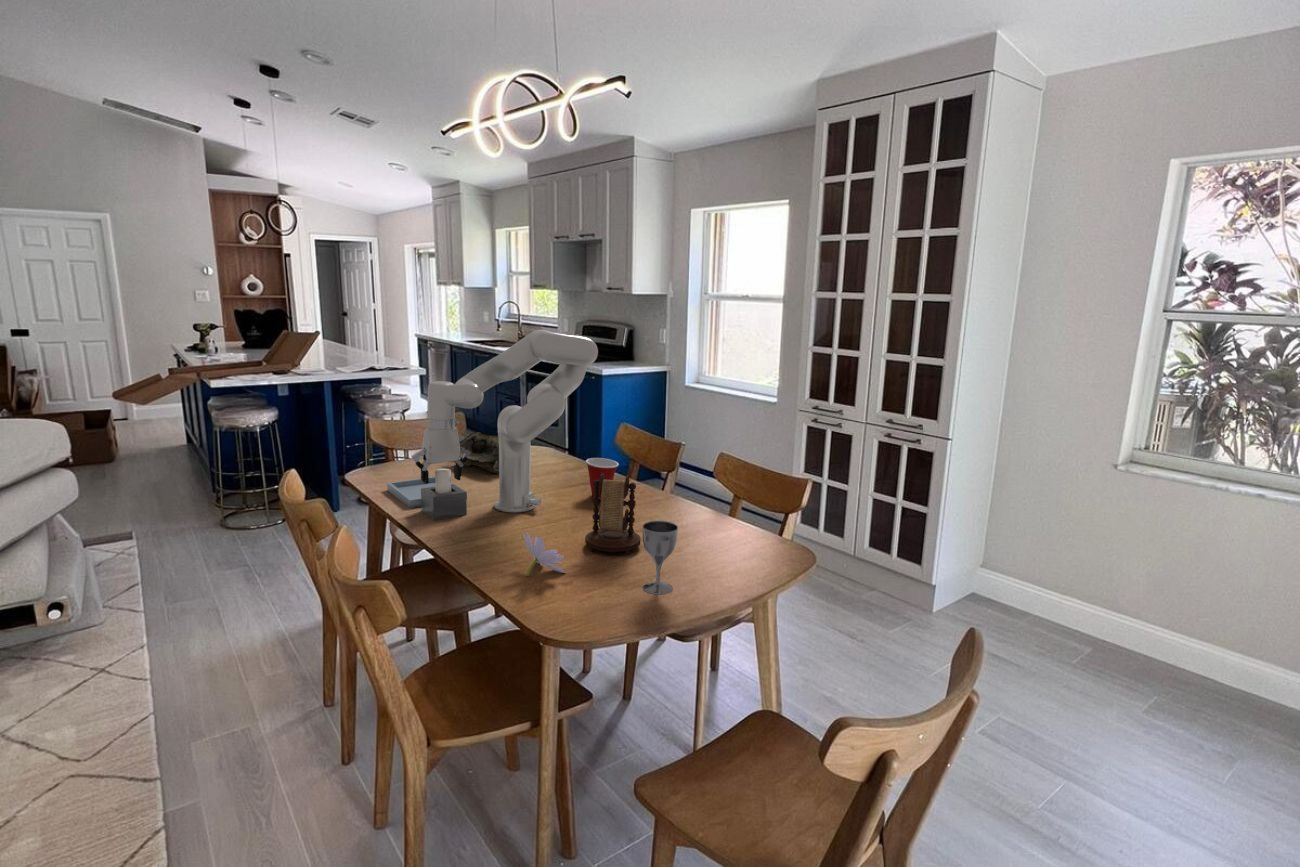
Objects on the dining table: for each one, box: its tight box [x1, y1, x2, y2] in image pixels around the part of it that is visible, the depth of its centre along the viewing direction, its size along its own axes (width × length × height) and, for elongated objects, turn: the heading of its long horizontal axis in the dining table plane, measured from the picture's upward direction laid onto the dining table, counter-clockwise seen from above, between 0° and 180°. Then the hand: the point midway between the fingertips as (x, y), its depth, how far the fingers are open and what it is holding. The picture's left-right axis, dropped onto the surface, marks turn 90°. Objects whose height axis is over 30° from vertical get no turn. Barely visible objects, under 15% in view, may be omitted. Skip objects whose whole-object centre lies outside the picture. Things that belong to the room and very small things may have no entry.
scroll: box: [584, 473, 642, 556], centre depth 182 cm, size 15×15×20 cm
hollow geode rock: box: [459, 431, 499, 475], centre depth 256 cm, size 28×13×15 cm
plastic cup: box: [585, 457, 619, 499], centre depth 227 cm, size 11×11×12 cm
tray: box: [386, 476, 468, 509], centre depth 222 cm, size 22×18×2 cm
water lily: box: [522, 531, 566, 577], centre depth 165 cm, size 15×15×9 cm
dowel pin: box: [434, 468, 452, 494], centre depth 204 cm, size 4×4×12 cm
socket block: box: [420, 483, 468, 521], centre depth 205 cm, size 10×10×7 cm
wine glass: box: [641, 520, 679, 595], centre depth 158 cm, size 8×8×15 cm
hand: (441, 480), depth 204 cm, fingers open, 9 cm apart
